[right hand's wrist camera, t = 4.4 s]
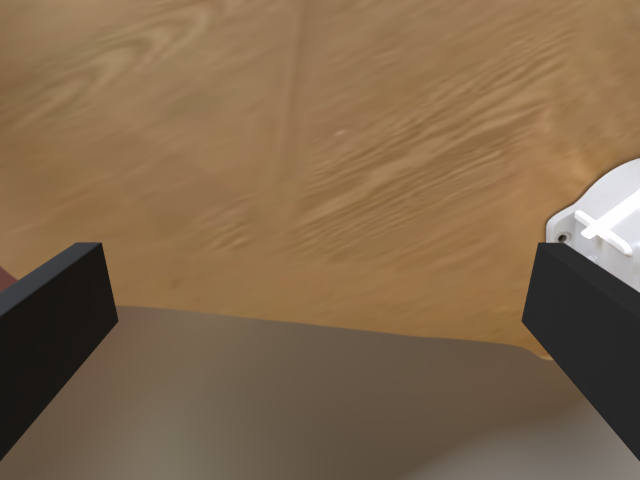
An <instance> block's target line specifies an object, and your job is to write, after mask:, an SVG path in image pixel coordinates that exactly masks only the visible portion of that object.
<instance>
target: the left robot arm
mask: <svg viewBox="0 0 640 480" xmlns="http://www.w3.org/2000/svg"><path fill="white" fill-rule="evenodd" d="M561 235H563V237H562V238H561V239H560V240H558V238H559V236H561ZM546 243H565V244H567V245H568V246H570V247H571V248H573V249H574V250H576V251H577V252H579V253H580V254H582V255H583V256H585V257H587V258H588V259H590V260H591V261H593V262H594V263H596V264H597V265H599V266H600V267H602V268H603V269H605V270H606V271H608V272H609V273H611V274H612V275H614V276H615V277H617V278H618V279H620V280H622V281H623V282H625V283H626V284H628V285H629V286H631V287H632V288H634V289H635V290H637V291H638V292H640V158H639V159H635V160H632V161H630V162H627V163H625V164H623V165H621V166H619V167H617V168H615V169H613V170H612V171H610V172H609V173H607V174H606V175H604V176H603V177H602V178H600V179H599V180H598V181H597V182H596V183H595V184H594V185H593V186H592V187H591V188H590V189H589V190H588V191H587V192H586V193H585V194H584V195H583V196H582V197H581V198H580V199H579V200H578V201H577V202H576V203H575V204H573V205H572V206H570V207H568V208H566V209H564V210H562V211H561V212H559V213H557V214H556V215H555V216H553V217H552V218H551V219H550V220H549V221H548V223H547V226H546Z"/></svg>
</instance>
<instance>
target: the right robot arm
mask: <svg viewBox="0 0 640 480" xmlns="http://www.w3.org/2000/svg"><path fill="white" fill-rule="evenodd" d="M117 322H118V317H117V312H116V307H115V303H114V298H113V293H112V289H111V284H110V279H109V275H108V270H107V265H106V261H105V256H104V251H103V247H102V243H75V244H73V245H72V246H70V247H69V248H67V249H66V250H64V251H63V252H61V253H60V254H58V255H57V256H55V257H53V258H52V259H50V260H49V261H47V262H46V263H44V264H43V265H41V266H40V267H38V268H37V269H35V270H34V271H32V272H31V273H29V274H28V275H26V276H25V277H23V278H22V279H20V280H18V281H17V282H15V283H14V284H12V285H11V286H9V287H8V288H6V289H5V290H3V291H2V292H0V461H1V460H2V459H3V457H4V456H5V455H6V454H7V453H8V452H9V450H10V449H11V448H12V447H13V446H14V444H15V443H16V442H17V441H18V440H19V439H20V437H21V436H22V435H23V434H24V433H25V431H26V430H27V429H28V428H29V427H30V425H31V424H32V423H33V422H34V421H35V420H36V418H37V417H38V416H39V415H40V414H41V412H42V411H43V410H44V409H45V408H46V407H47V405H48V404H49V403H50V402H51V401H52V399H53V398H54V397H55V396H56V395H57V393H58V392H59V391H60V390H61V389H62V388H63V386H64V385H65V384H66V383H67V382H68V380H69V379H70V378H71V377H72V376H73V375H74V373H75V372H76V371H77V370H78V369H79V367H80V366H81V365H82V364H83V363H84V361H85V360H86V359H87V358H88V357H89V355H90V354H91V353H92V352H93V351H94V350H95V348H96V347H97V346H98V345H99V344H100V342H101V341H102V340H103V339H104V338H105V336H106V335H107V334H108V333H109V332H110V331H111V329H112V328H113V327H114V326H115V325H116V324H117ZM522 322H523V324H524V325H525V326H526V327H527V328H528V329H529V331H530V332H531V333H532V334H533V335H534V337H535V338H536V339H537V340H538V341H539V343H540V344H541V345H542V346H543V347H544V348H545V350H546V351H547V352H548V353H549V354H550V356H551V357H552V358H553V359H554V360H555V361H556V363H557V364H558V365H559V366H560V367H561V369H562V370H563V371H564V372H565V373H566V374H567V376H568V377H569V378H570V379H571V380H572V382H573V383H574V384H575V385H576V386H577V388H578V389H579V390H580V391H581V392H582V393H583V395H584V396H585V397H586V398H587V399H588V401H589V402H590V403H591V404H592V405H593V407H594V408H595V409H596V410H597V411H598V412H599V414H600V415H601V416H602V417H603V418H604V419H605V421H606V422H607V423H608V424H609V425H610V427H611V428H612V429H613V430H614V431H615V433H616V434H617V435H618V436H619V437H620V438H621V440H622V441H623V442H624V443H625V444H626V446H627V447H628V448H629V449H630V450H631V452H632V453H633V454H634V455H635V456H636V457H637V459H638V460H639V461H640V292H638V291H637V290H635V289H634V288H632V287H631V286H629V285H628V284H626V283H625V282H623V281H622V280H620V279H618V278H617V277H615V276H614V275H612V274H611V273H609V272H608V271H606V270H605V269H603V268H602V267H600V266H599V265H597V264H596V263H594V262H593V261H591V260H590V259H588V258H587V257H585V256H583V255H582V254H580V253H579V252H577V251H576V250H574V249H573V248H571V247H570V246H568V245H567V244H565V243H538V247H537V251H536V256H535V261H534V265H533V270H532V275H531V279H530V284H529V289H528V293H527V298H526V303H525V307H524V312H523V317H522Z"/></svg>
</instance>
